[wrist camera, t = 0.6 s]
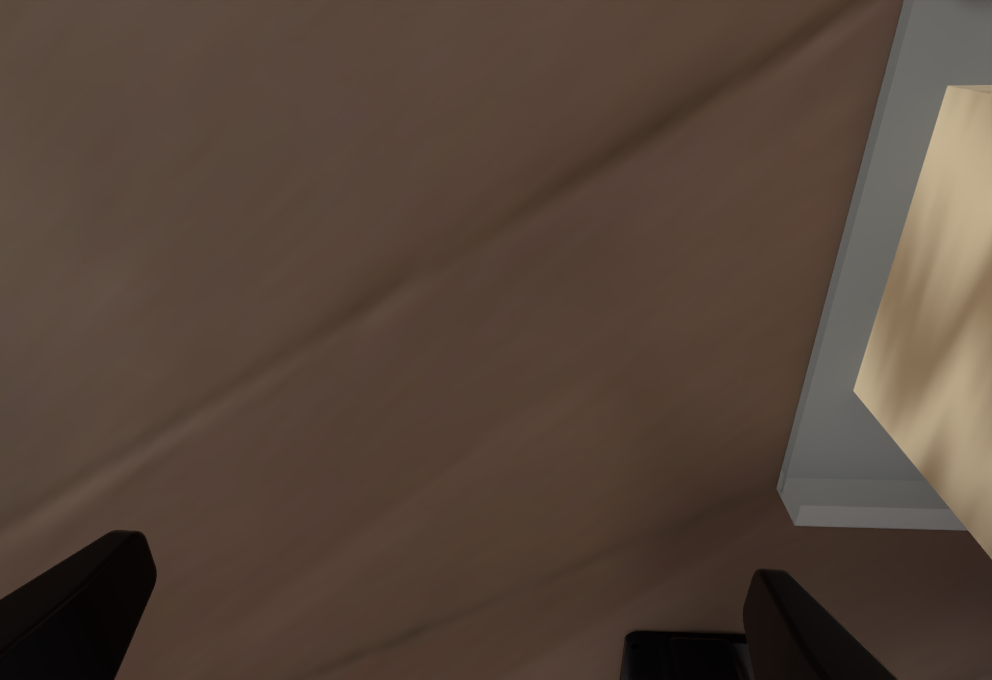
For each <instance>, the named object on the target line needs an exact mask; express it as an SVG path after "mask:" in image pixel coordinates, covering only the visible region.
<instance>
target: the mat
mask: <svg viewBox="0 0 992 680" xmlns="http://www.w3.org/2000/svg"><path fill="white" fill-rule="evenodd" d="M954 85H992V0H904V3H903V6H902V10H901V14H900V18H899V22H898V25H897V29H896V33H895V37H894V41H893V45H892V48H891V52H890V56H889V60H888V64H887V68H886V71H885V75H884V79H883V83H882V87H881V90H880V94H879V98H878V102H877V106H876V110H875V113H874V117H873V121H872V125H871V129H870V132H869V136H868V140H867V144H866V148H865V152H864V155H863V159H862V163H861V167H860V171H859V175H858V178H857V182H856V186H855V190H854V194H853V197H852V201H851V205H850V209H849V213H848V217H847V220H846V224H845V228H844V232H843V236H842V240H841V243H840V247H839V251H838V255H837V259H836V262H835V266H834V270H833V274H832V278H831V282H830V285H829V289H828V293H827V297H826V301H825V304H824V308H823V312H822V316H821V320H820V324H819V327H818V331H817V335H816V339H815V343H814V347H813V350H812V354H811V358H810V362H809V366H808V369H807V373H806V377H805V381H804V385H803V389H802V392H801V396H800V400H799V404H798V408H797V412H796V415H795V419H794V423H793V427H792V431H791V434H790V438H789V442H788V446H787V450H786V454H785V457H784V461H783V465H782V469H781V473H780V477H779V480H778V484H777V488H776V489H777V491H778V493H779V495H780V497H781V499H782V501H783V503H784V505H785V507H786V509H787V511H788V513H789V515H790V517H791V519H792V521H793V523H794V525H795V526H823V527H859V528H895V529H931V530H967V529H966V527H965V526H964V525H963V524H962V522H961V521H960V520H959V519H958V518H957V516H956V515H955V514H954V513H953V512H952V510H951V509H950V508H949V507H948V505H947V504H946V503H945V502H944V501H943V499H942V498H941V497H940V496H939V495H938V493H937V492H936V491H935V490H934V488H933V487H932V486H931V485H930V484H929V482H928V481H927V480H926V479H925V478H924V476H923V475H922V474H921V473H920V471H919V470H918V469H917V468H916V467H915V465H914V464H913V463H912V462H911V461H910V459H909V458H908V457H907V456H906V454H905V453H904V452H903V451H902V450H901V448H900V447H899V446H898V445H897V443H896V442H895V441H894V440H893V439H892V437H891V436H890V435H889V434H888V433H887V431H886V430H885V429H884V428H883V426H882V425H881V424H880V423H879V422H878V420H877V419H876V418H875V417H874V416H873V414H872V413H871V412H870V411H869V409H868V408H867V407H866V406H865V405H864V403H863V402H862V401H861V400H860V399H859V397H858V396H857V395H856V394H855V392H854V391H853V390H854V387H855V383H856V380H857V377H858V374H859V371H860V367H861V364H862V361H863V358H864V354H865V351H866V348H867V345H868V341H869V338H870V335H871V332H872V328H873V325H874V322H875V319H876V315H877V312H878V309H879V306H880V303H881V299H882V296H883V293H884V290H885V286H886V283H887V280H888V277H889V273H890V270H891V267H892V264H893V260H894V257H895V254H896V251H897V247H898V244H899V241H900V238H901V234H902V231H903V228H904V225H905V222H906V218H907V215H908V212H909V209H910V205H911V202H912V199H913V196H914V192H915V189H916V186H917V183H918V179H919V176H920V173H921V170H922V166H923V163H924V160H925V157H926V154H927V150H928V147H929V144H930V141H931V137H932V134H933V131H934V128H935V124H936V121H937V118H938V115H939V111H940V108H941V105H942V102H943V98H944V95H945V92H946V89H947V86H954ZM967 531H968V530H967Z"/></svg>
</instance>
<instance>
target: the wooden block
mask: <svg viewBox="0 0 992 680" xmlns="http://www.w3.org/2000/svg"><path fill="white" fill-rule="evenodd" d="M853 391H854V392H855V394H856V395H857V396H858V397H859V399H860V400H861V401H862V402H863V403H864V405H865V406H866V407H867V408H868V409H869V411H870V412H871V413H872V414H873V416H874V417H875V418H876V419H877V420H878V422H879V423H880V424H881V425H882V426H883V428H884V429H885V430H886V431H887V433H888V434H889V435H890V436H891V437H892V439H893V440H894V441H895V442H896V443H897V445H898V446H899V447H900V448H901V450H902V451H903V452H904V453H905V454H906V456H907V457H908V458H909V459H910V461H911V462H912V463H913V464H914V465H915V467H916V468H917V469H918V470H919V471H920V473H921V474H922V475H923V476H924V478H925V479H926V480H927V481H928V482H929V484H930V485H931V486H932V487H933V488H934V490H935V491H936V492H937V493H938V495H939V496H940V497H941V498H942V499H943V501H944V502H945V503H946V504H947V505H948V507H949V508H950V509H951V510H952V512H953V513H954V514H955V515H956V516H957V518H958V519H959V520H960V521H961V522H962V524H963V525H964V526H965V527H966V529H967V530H968V531H969V532H970V533H971V535H972V536H973V537H974V538H975V539H976V541H977V542H978V543H979V544H980V546H981V547H982V548H983V549H984V550H985V552H986V553H987V554H988V555H989V556H990V558H991V559H992V85H954V86H947V89H946V92H945V95H944V98H943V102H942V105H941V108H940V111H939V115H938V118H937V121H936V124H935V128H934V131H933V134H932V137H931V141H930V144H929V147H928V150H927V154H926V157H925V160H924V163H923V166H922V170H921V173H920V176H919V179H918V183H917V186H916V189H915V192H914V196H913V199H912V202H911V205H910V209H909V212H908V215H907V218H906V222H905V225H904V228H903V231H902V234H901V238H900V241H899V244H898V247H897V251H896V254H895V257H894V260H893V264H892V267H891V270H890V273H889V277H888V280H887V283H886V286H885V290H884V293H883V296H882V299H881V303H880V306H879V309H878V312H877V315H876V319H875V322H874V325H873V328H872V332H871V335H870V338H869V341H868V345H867V348H866V351H865V354H864V358H863V361H862V364H861V367H860V371H859V374H858V377H857V380H856V383H855V387H854V390H853Z"/></svg>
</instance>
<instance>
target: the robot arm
mask: <svg viewBox="0 0 992 680" xmlns="http://www.w3.org/2000/svg"><path fill="white" fill-rule="evenodd" d="M156 577H157V571H156V566H155V563H154V560H153V557H152V554H151V551H150V548H149V545H148V542H147V539H146V537H145V535H144V534H143V533H141V532H139V531H128V530H115V531H111V532H109V533H107V534H105V535H104V536H102V537H101V538H99V539H97V540H96V541H94V542H93V543H91V544H89V545H88V546H86V547H84V548H83V549H81V550H80V551H78V552H76V553H75V554H73V555H72V556H70V557H68V558H67V559H65V560H63V561H62V562H60V563H59V564H57V565H55V566H54V567H52V568H51V569H49V570H47V571H46V572H44V573H42V574H41V575H39V576H38V577H36V578H34V579H33V580H31V581H30V582H28V583H26V584H25V585H23V586H21V587H20V588H18V589H17V590H15V591H13V592H12V593H10V594H9V595H7V596H5V597H4V598H2V599H0V680H114V679H115V677H116V675H117V672H118V670H119V668H120V666H121V663H122V661H123V659H124V656H125V654H126V652H127V649H128V647H129V645H130V642H131V640H132V638H133V635H134V633H135V631H136V628H137V626H138V624H139V621H140V619H141V617H142V614H143V612H144V610H145V607H146V605H147V603H148V600H149V598H150V596H151V593H152V591H153V589H154V586H155V582H156ZM743 623H744V629H745V634H746V636H731V635H704V634H677V633H651V632H632V633H629V634H628V635H626V637H625V641H624V649H623V656H622V664H621V672H620V680H899V679H898V678H897V677H896V676H895V675H894V674H893V673H892V672H891V671H890V670H889V669H888V668H887V667H886V666H885V665H884V664H883V663H881V662H880V661H879V660H878V659H877V658H876V657H875V656H874V655H873V654H872V653H871V652H870V651H869V650H868V649H867V648H866V647H865V646H864V645H863V644H862V643H861V642H860V641H859V640H858V639H857V638H856V637H855V636H854V635H853V634H852V633H851V632H850V631H849V630H848V629H847V628H846V627H844V626H843V625H842V624H841V623H840V622H839V621H838V620H837V619H836V618H835V617H834V616H833V615H832V614H831V613H830V612H829V611H828V610H827V609H826V608H825V607H824V606H823V605H822V604H821V603H820V602H819V601H818V600H817V599H816V598H815V597H814V596H813V595H812V594H811V593H810V592H809V591H808V590H806V589H805V588H804V587H803V586H802V585H801V584H800V583H799V582H798V581H797V580H796V579H795V578H794V577H793V576H792V575H791V574H790V573H788V572H786V571H784V570H776V569H758V570H756V571H755V573H754V575H753V577H752V580H751V584H750V587H749V590H748V594H747V597H746V600H745V603H744V607H743Z"/></svg>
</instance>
